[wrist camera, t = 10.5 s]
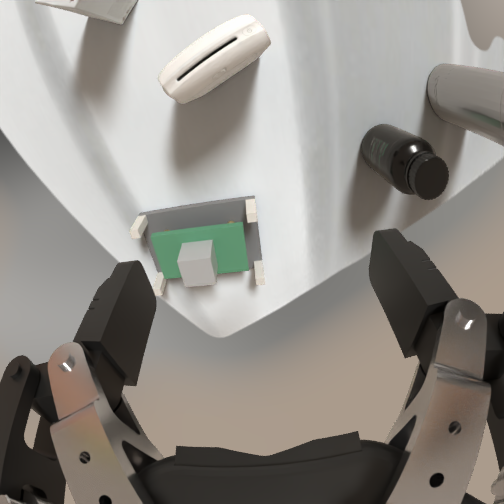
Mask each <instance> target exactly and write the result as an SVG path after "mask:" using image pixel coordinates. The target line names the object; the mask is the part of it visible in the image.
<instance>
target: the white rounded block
mask: <svg viewBox="0 0 504 504" xmlns="http://www.w3.org/2000/svg"><path fill="white" fill-rule="evenodd" d="M270 44H271V41H270V38H269V36H268V34H267V31H266V30H265V28H264V27H263V26H262V25H261V24H260V23H259V22H258V21H257V20H256V19H254V18H253V17H252V16H250V15H248V14H245V15H241V16H238V17H235V18H233V19H231V20H229V21H227V22H225V23H223V24H221V25H220V26H218V27H216V28H214V29H213V30H211V31H210V32H208V33H206V34H205V35H203V36H202V37H201V38H199V39H198V40H196V41H195V42H193V43H192V44H191V45H189V46H188V47H187V48H186V49H184V50H183V51H182V52H181V53H179V54H178V55H177V56H176V57H175V58H174V59H172V60H171V61H170V62H169V63H168V64H167V65H166V66H165V67H164V69H163V70H162V71H161V72H160V74H159V75H158V81H159V82H160V84H161V85H162V87H163V90H164V91H165V93H166V94H167V95H168V96H170V97H171V98H173V99H175V100H176V101H177V102H179V103H181V104H185V103H187V102H189V101H192V100H195V99H197V98H199V97H201V96H203V95H205V94H207V93H208V92H210V91H211V90H213V89H214V88H216V87H217V86H218V85H220V84H221V83H223V82H224V81H226V80H227V79H229V78H230V77H232V76H233V75H235V74H236V73H238V72H239V71H241V70H242V69H244V68H245V67H246V66H248V65H250V64H251V63H252V62H254V61H255V60H256V59H257V58H258V57H260V56H261V54H262V53H263V52H264V51H265V50H266V49H267V48H268V47H269V45H270Z"/></svg>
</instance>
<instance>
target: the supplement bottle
mask: <svg viewBox="0 0 504 504" xmlns="http://www.w3.org/2000/svg"><path fill="white" fill-rule="evenodd" d="M362 155H363V158H364V160H365V162H366V163H367V165H368V166H369V167H370V168H372V169H373V170H374V171H375V172H377V173H378V174H379V175H380V176H381V177H383V178H384V179H385V180H386V181H388V182H389V183H390V184H391V185H392V186H394V187H395V188H396V189H397V190H399V191H400V192H402V193H404V194H409V195H414V194H416V195H418V196H419V197H420V198H422V199H425V200H430V199H431V200H432V199H434V198H436V197H438V196H439V195H440V194H442V192H443V191H444V189H445V188H446V185H447V183H448V177H449V174H448V173H449V171H448V167H447V165H446V164H445V162H444V161H443V160H442V159H441V158H440V157H438V156H436V153H435V151H434V149H433V147H432V146H431V145H430V144H429V143H428V142H427V141H425V140H424V139H422V138H420V137H417V136H415V135H413V134H411V133H408V132H406V131H404V130H402V129H399V128H397V127H394V126H391V125H388V124H380V125H377V126H374V127H373V128H371V129H370V130H369V131H368V132H367V133H366V135H365V137H364V139H363V142H362Z"/></svg>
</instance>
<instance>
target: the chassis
mask: <svg viewBox="0 0 504 504" xmlns="http://www.w3.org/2000/svg"><path fill="white" fill-rule="evenodd" d="M236 222H243V228H244V235H245V243H246V251H247V258H248V266H249V268H255V279H256V285H264V284H265V279H264V271H263V263H262V255H261V247H260V238H259V230H258V219H257V211H256V204H255V197H254V196H247V197H239V198H232V199H225V200H217V201H210V202H204V203H197V204H190V205H184V206H178V207H172V208H166V209H160V210H154V211H149V212H143V213H140V214H139V216H138V217H137V219H136V221H135V222H134V224H133V226H132V227H131V229H130V231H129V232H130V235H131V237H132V239H136V238H141V236H142V234H143V232H144V235H145V238H146V241H147V244H148V247H149V250H150V252H151V255H152V258H153V261H154V263H155V266H156V269H157V271H158V274H157V277H156V280H155V283H154V286H153V291H154V293H155V296H160V295H163V292H164V288H165V284H166V281H167V279H164V276H163V273H162V270H161V267H160V264H159V261H158V258H157V255H156V253H155V249H154V246H153V243H152V240H151V235H152V233H156V232H164V231H171V230H179V229H186V228H194V227H202V226H210V225H219V224H227V223H236Z"/></svg>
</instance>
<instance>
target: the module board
mask: <svg viewBox="0 0 504 504" xmlns="http://www.w3.org/2000/svg"><path fill="white" fill-rule="evenodd" d="M151 240H152V243H153V246H154V249H155V253H156V255H157V258H158V261H159V264H160V267H161V270H162V273H163V276H164V279H169V278H180V277H182V279H183V282H184V286H185V287H194V286H205V285H216V283H217V274H220V273H230V272H240V271H249V266H248V258H247V251H246V243H245V235H244V228H243V222H236V223H227V224H219V225H210V226H202V227H194V228H186V229H179V230H171V231H164V232H156V233H152V235H151Z"/></svg>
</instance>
